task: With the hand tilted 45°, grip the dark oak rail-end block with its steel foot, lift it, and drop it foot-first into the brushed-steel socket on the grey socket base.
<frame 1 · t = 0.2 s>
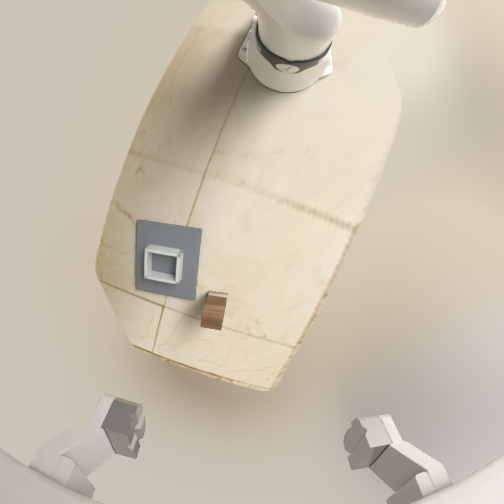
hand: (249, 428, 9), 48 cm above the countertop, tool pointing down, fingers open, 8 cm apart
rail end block: (217, 297, 60), on the countertop
grey socket base: (167, 260, 58), on the countertop
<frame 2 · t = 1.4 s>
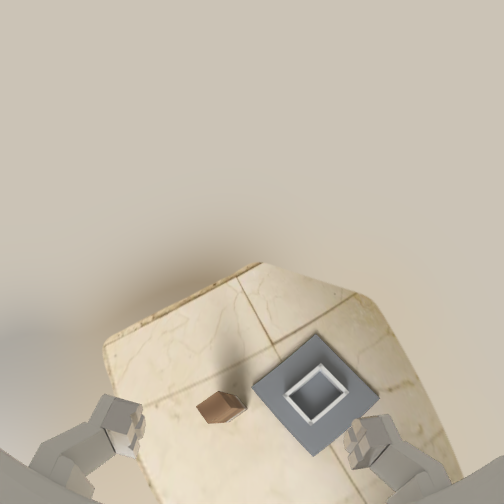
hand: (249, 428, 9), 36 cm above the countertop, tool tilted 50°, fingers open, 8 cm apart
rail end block: (232, 409, 41), on the countertop
grey socket base: (315, 395, 39), on the countertop
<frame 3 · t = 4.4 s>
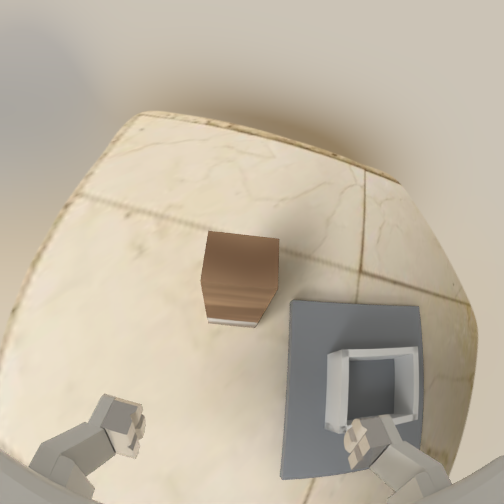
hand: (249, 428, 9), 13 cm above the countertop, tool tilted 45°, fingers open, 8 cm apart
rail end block: (233, 308, 24), on the countertop
grey socket base: (360, 389, 21), on the countertop
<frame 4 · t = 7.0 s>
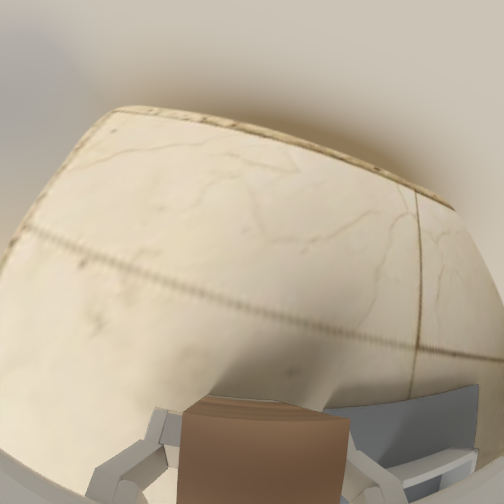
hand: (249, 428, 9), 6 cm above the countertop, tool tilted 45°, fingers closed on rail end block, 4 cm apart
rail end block: (239, 422, 14), on the countertop, touching gripper
grey socket base: (400, 495, 11), on the countertop
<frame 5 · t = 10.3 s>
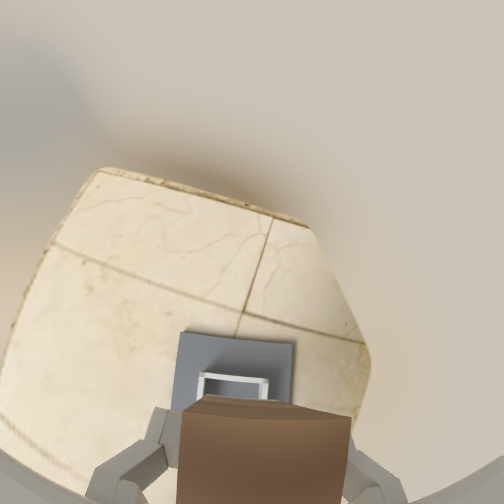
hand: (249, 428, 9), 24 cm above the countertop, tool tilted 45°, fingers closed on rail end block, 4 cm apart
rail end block: (239, 421, 13), point 18 cm above the countertop, touching gripper
grey socket base: (230, 401, 30), on the countertop
when the fingers open (8 cm above the countertop, at t = 13.6 s): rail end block drops 2 cm, resting on grey socket base.
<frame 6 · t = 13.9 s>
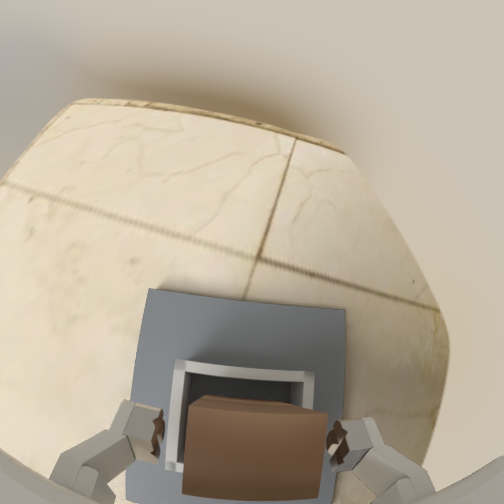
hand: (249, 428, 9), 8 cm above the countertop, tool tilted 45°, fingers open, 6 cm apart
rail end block: (237, 418, 15), point 1 cm above the countertop, touching grey socket base
grey socket base: (237, 417, 16), on the countertop
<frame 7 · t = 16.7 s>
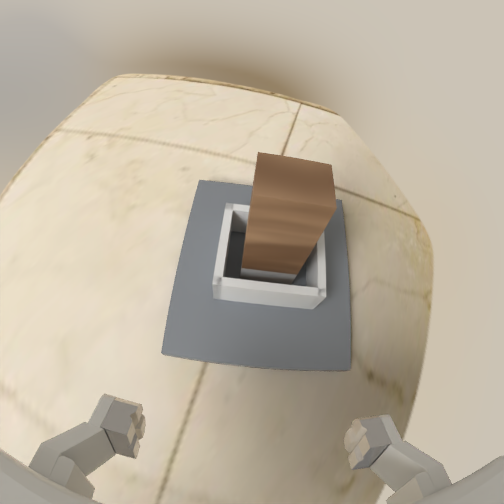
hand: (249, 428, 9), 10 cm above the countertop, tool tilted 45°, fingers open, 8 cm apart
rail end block: (266, 264, 22), point 1 cm above the countertop, touching grey socket base
grey socket base: (265, 270, 23), on the countertop
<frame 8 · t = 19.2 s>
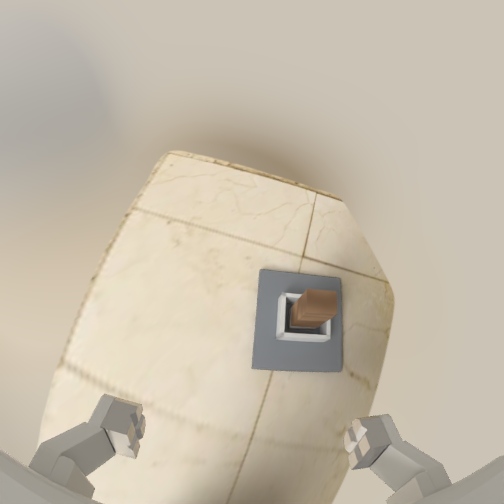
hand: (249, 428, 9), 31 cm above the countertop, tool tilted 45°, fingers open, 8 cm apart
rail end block: (300, 320, 42), point 1 cm above the countertop, touching grey socket base
grey socket base: (299, 322, 43), on the countertop
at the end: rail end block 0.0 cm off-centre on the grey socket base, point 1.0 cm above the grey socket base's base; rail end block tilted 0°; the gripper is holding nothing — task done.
